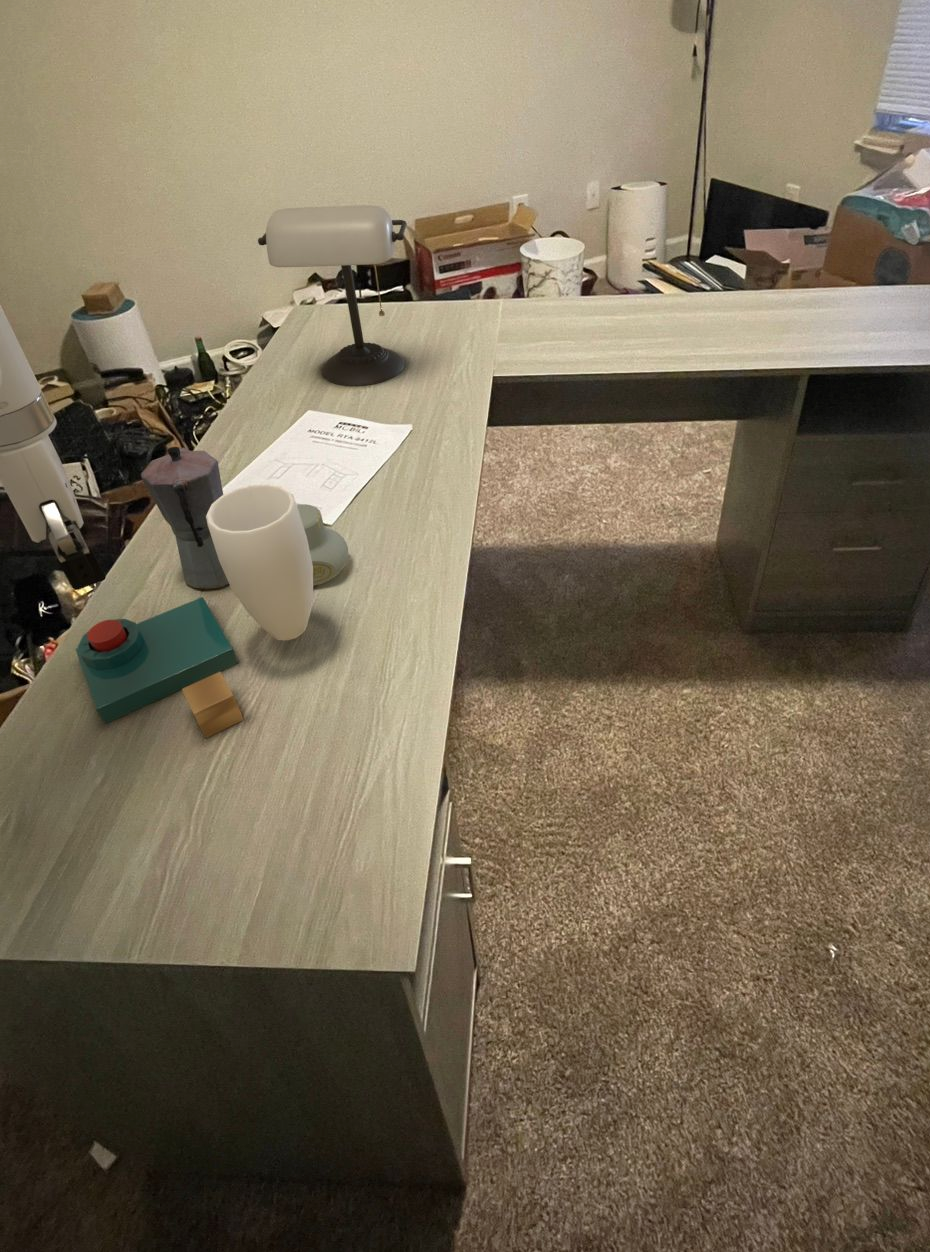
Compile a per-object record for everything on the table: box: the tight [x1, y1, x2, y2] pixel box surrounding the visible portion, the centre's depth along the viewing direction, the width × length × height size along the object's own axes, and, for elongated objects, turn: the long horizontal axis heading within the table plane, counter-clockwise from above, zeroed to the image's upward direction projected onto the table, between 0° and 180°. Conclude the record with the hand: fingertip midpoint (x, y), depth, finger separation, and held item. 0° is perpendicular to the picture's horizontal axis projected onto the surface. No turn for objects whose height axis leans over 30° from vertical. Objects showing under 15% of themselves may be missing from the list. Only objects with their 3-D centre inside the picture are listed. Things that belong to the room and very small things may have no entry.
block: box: [181, 671, 244, 739], centre depth 85 cm, size 4×4×4 cm
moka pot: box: [140, 446, 230, 590], centre depth 100 cm, size 10×15×20 cm, turn 26°
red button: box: [87, 619, 127, 652], centre depth 90 cm, size 4×4×2 cm
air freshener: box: [297, 503, 349, 587], centre depth 103 cm, size 11×8×10 cm
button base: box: [75, 596, 239, 725], centre depth 92 cm, size 16×12×4 cm
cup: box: [206, 483, 314, 641], centre depth 88 cm, size 10×10×22 cm
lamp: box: [257, 204, 408, 387], centre depth 145 cm, size 26×24×34 cm
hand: (81, 559), depth 80 cm, fingers open, 9 cm apart
